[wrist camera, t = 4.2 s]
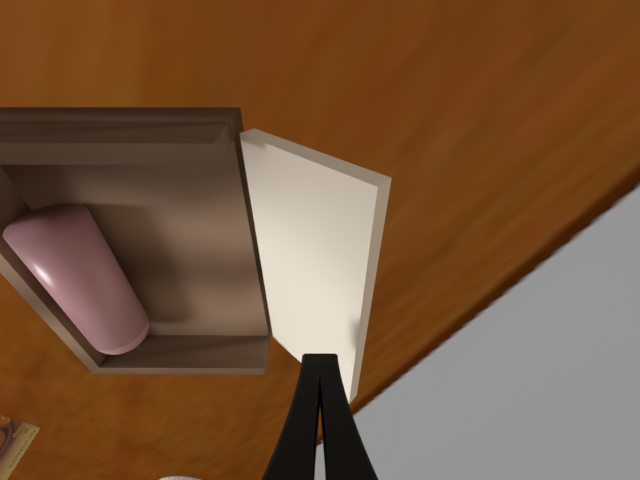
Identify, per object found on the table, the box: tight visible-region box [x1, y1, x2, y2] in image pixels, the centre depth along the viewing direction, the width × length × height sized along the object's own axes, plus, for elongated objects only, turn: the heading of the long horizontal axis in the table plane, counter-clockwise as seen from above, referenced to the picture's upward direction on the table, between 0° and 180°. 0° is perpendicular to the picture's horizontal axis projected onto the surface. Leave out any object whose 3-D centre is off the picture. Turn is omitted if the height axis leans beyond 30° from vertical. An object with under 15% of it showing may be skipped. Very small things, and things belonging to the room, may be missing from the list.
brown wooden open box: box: [0, 107, 272, 374], centre depth 17 cm, size 16×12×4 cm
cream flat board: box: [240, 128, 392, 404], centre depth 16 cm, size 15×1×7 cm
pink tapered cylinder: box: [3, 203, 149, 355], centre depth 17 cm, size 10×3×3 cm, turn 0°
